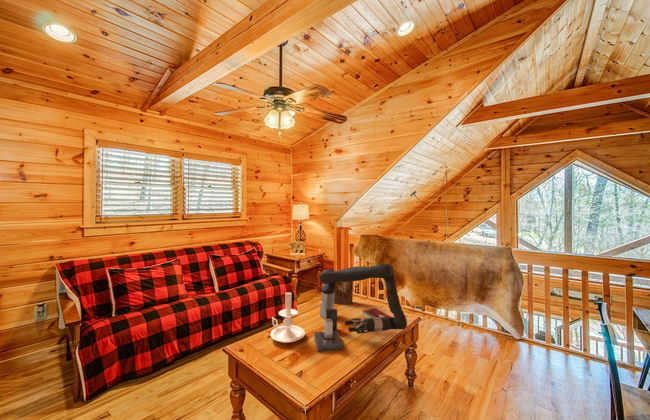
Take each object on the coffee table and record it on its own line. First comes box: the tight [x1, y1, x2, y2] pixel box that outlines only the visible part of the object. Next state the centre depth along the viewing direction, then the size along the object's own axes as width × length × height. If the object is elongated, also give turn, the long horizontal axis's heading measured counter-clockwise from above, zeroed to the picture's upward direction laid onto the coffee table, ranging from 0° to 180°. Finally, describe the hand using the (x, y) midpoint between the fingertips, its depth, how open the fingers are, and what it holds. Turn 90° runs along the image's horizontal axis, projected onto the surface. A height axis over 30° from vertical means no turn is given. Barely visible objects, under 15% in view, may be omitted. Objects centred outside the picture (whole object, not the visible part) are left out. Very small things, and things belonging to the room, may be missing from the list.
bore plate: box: [313, 330, 344, 353], centre depth 157 cm, size 14×14×4 cm
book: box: [334, 281, 354, 305], centre depth 220 cm, size 16×6×25 cm, turn 84°
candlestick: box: [270, 292, 306, 344], centre depth 164 cm, size 21×25×28 cm
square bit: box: [323, 318, 333, 340], centre depth 157 cm, size 4×4×14 cm
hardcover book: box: [361, 307, 393, 318], centre depth 192 cm, size 12×21×4 cm, turn 29°
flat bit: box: [325, 308, 338, 331], centre depth 174 cm, size 7×2×14 cm, turn 100°
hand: (346, 326), depth 159 cm, fingers open, 8 cm apart
